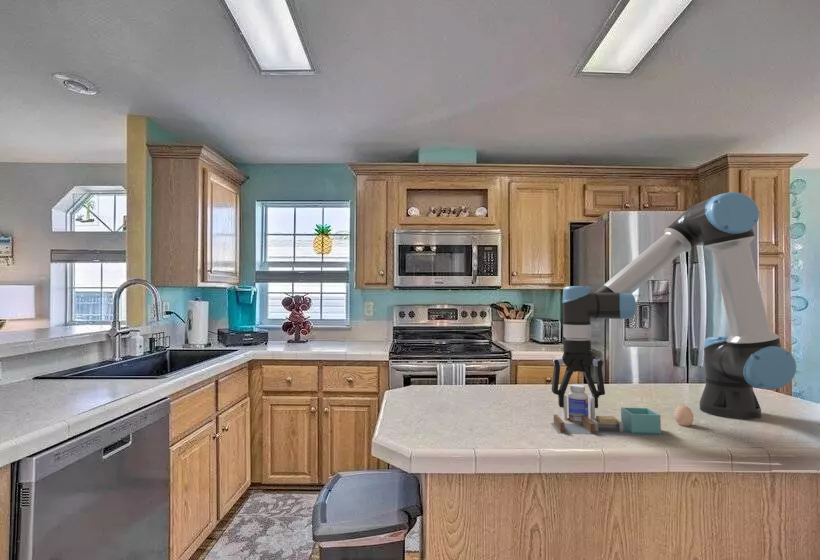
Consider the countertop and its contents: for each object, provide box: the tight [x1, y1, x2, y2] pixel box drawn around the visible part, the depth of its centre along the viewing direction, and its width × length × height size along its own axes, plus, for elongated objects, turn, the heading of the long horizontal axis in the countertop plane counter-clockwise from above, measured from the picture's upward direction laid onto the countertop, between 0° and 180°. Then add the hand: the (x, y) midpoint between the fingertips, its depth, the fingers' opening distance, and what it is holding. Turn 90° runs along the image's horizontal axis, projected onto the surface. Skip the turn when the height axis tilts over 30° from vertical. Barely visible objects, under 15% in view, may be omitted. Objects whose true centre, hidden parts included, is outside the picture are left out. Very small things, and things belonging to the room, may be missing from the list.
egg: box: [673, 404, 694, 427], centre depth 118 cm, size 4×4×6 cm
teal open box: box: [620, 406, 662, 435], centre depth 113 cm, size 7×7×5 cm
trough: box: [553, 414, 595, 435], centre depth 115 cm, size 8×8×2 cm
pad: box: [595, 415, 617, 424], centre depth 114 cm, size 4×3×1 cm
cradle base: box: [590, 418, 623, 432], centre depth 114 cm, size 7×4×2 cm, turn 84°
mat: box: [550, 422, 666, 438], centre depth 114 cm, size 26×9×1 cm, turn 84°
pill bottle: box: [567, 384, 590, 422], centre depth 124 cm, size 5×5×10 cm
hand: (578, 418), depth 124 cm, fingers open, 7 cm apart
